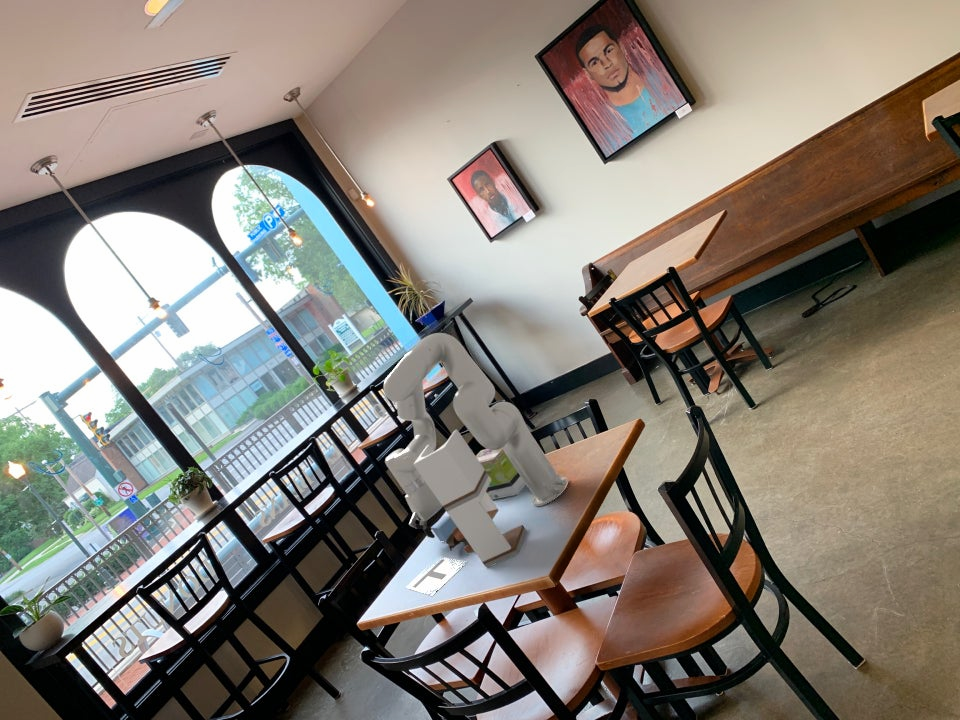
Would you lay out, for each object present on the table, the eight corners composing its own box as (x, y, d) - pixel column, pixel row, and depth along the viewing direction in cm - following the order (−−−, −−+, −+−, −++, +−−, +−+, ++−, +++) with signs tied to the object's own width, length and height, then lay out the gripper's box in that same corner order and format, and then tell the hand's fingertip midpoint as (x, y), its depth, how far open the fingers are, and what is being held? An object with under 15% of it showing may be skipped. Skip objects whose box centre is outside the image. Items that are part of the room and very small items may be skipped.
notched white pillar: (518, 553, 193) (444, 447, 188) (486, 568, 197) (413, 464, 192) (526, 530, 203) (456, 429, 198) (496, 544, 207) (426, 445, 202)
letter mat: (467, 562, 208) (467, 561, 208) (432, 596, 202) (431, 595, 202) (439, 556, 226) (438, 556, 226) (405, 587, 219) (405, 587, 219)
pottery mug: (462, 562, 212) (441, 544, 214) (467, 563, 221) (446, 545, 223) (488, 529, 214) (467, 511, 216) (492, 531, 223) (471, 514, 225)
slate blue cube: (462, 531, 234) (451, 516, 233) (448, 543, 231) (438, 528, 230) (454, 530, 239) (444, 515, 238) (441, 542, 237) (430, 527, 236)
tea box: (488, 502, 243) (463, 466, 241) (504, 484, 250) (480, 449, 248) (518, 495, 232) (492, 458, 230) (534, 476, 239) (509, 440, 237)
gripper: (429, 468, 240) (457, 510, 242) (389, 501, 232) (419, 544, 234) (439, 468, 233) (467, 510, 236) (398, 502, 225) (428, 546, 228)
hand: (443, 527), depth 235 cm, fingers open, 9 cm apart
